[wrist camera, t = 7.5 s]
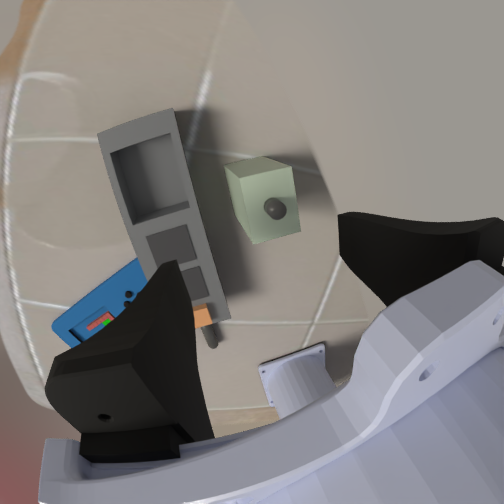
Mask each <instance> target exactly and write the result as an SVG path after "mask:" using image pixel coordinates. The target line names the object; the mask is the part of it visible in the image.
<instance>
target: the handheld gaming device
mask: <svg viewBox="0 0 504 504" xmlns="http://www.w3.org/2000/svg"><path fill="white" fill-rule="evenodd" d="M147 283H148V281H147V279H146V277H145V274H144V272H143V270H142V267H141V265H140V262H139V260H138V258H136V259H134V260H133V261H131V262H130V263H129V264H127V265H126V266H124V267H123V268H122V269H120V270H119V271H118V272H116V273H115V274H114V275H112V276H111V277H110V278H108V279H107V280H106V281H104V282H103V283H102V284H100V285H99V286H98V287H96V288H95V289H94V290H92V291H91V292H90V293H88V294H87V295H86V296H85V297H83V298H82V299H81V300H80V301H78V302H77V303H76V304H74V305H73V306H72V307H71V308H69V309H68V310H67V311H66V312H64V313H63V314H62V315H61V316H60V317H58V318H57V319H56V320H55V321H54V322H53V324H52V330H53V331H54V332H55V333H56V334H57V335H58V336H59V337H60V338H61V339H62V340H63V341H64V342H65V343H66V344H68V345H69V346H70V347H71V348H73V347H75V346H77V345H78V344H80V343H82V342H83V341H85V340H86V339H88V338H90V337H91V336H93V335H94V334H95V333H97V332H98V331H100V330H101V329H102V328H103V327H105V326H106V325H107V324H108V323H110V322H111V321H112V320H113V319H114V318H116V317H117V316H118V315H119V314H120V313H121V312H122V311H123V310H124V309H125V308H126V307H127V306H128V305H129V304H130V303H131V302H132V301H133V300H134V299H135V297H136V296H137V295H138V294H139V292H140V291H141V290H142V289H143V288H144V286H145V285H146V284H147Z"/></svg>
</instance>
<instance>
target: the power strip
mask: <svg viewBox="0 0 504 504" xmlns="http://www.w3.org/2000/svg"><path fill="white" fill-rule="evenodd" d="M97 136H98V140H99V144H100V148H101V152H102V155H103V159H104V162H105V166H106V169H107V173H108V176H109V179H110V182H111V186H112V189H113V192H114V195H115V198H116V201H117V204H118V207H119V210H120V213H121V215H122V218H123V221H124V224H125V227H126V229H127V232H128V235H129V237H130V240H131V242H132V245H133V248H134V250H135V253H136V255H137V258H138V260H139V262H140V265H141V267H142V270H143V272H144V274H145V277H146V279H147V281H149V280H150V279H151V277H152V276H153V275H154V273H155V272H156V270H157V269H158V268H159V267H160V265H161V264H162V263H165V262H169V261H172V260H176V259H177V262H178V265H179V268H180V271H181V274H182V276H183V279H184V282H185V285H186V287H187V290H188V293H189V295H190V298H191V302H192V307H193V313H194V318H195V328H199V327H201V329H202V332H203V334H204V336H205V339H206V341H207V343H208V346H209V347H210V348H212V349H215V348H217V346H218V341H217V338H216V336H215V333H214V331H213V328H212V326H211V324H213V323H217V322H220V321H224V320H227V319H230V318H231V315H230V312H229V308H228V305H227V302H226V298H225V295H224V292H223V288H222V285H221V282H220V279H219V275H218V272H217V269H216V265H215V262H214V259H213V255H212V252H211V249H210V245H209V242H208V238H207V235H206V231H205V228H204V224H203V221H202V217H201V214H200V210H199V206H198V203H197V199H196V195H195V192H194V188H193V184H192V180H191V177H190V173H189V169H188V165H187V161H186V157H185V153H184V149H183V145H182V141H181V137H180V133H179V129H178V125H177V121H176V116H175V112H174V109H173V108H170V109H167V110H163V111H160V112H157V113H153V114H150V115H147V116H144V117H141V118H138V119H135V120H132V121H129V122H127V123H124V124H121V125H118V126H116V127H113V128H110V129H108V130H105V131H103V132H100V133H98V134H97Z"/></svg>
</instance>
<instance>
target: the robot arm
mask: <svg viewBox="0 0 504 504" xmlns="http://www.w3.org/2000/svg"><path fill="white" fill-rule="evenodd" d="M338 229H339V249H340V256H341V257H342V259H343V260H344V262H345V263H346V264H347V266H348V267H349V268H350V269H351V270H352V272H353V273H354V274H355V275H356V276H357V277H358V278H359V279H360V280H362V281H363V282H364V283H365V284H366V285H367V286H368V287H369V288H370V289H371V290H372V291H373V292H374V293H375V294H376V295H377V296H378V297H379V298H380V299H381V300H382V302H383V303H384V304H385V305H386V306H387V308H385V309H384V310H382V311H381V312H380V313H379V314H378V315H377V316H376V318H375V319H374V320H373V321H372V323H371V324H370V325H369V326H368V327H367V329H366V330H365V331H364V332H363V335H362V337H361V340H360V343H359V345H358V348H357V350H356V353H355V356H354V363H353V371H352V376H351V378H350V379H349V380H348V381H346V382H344V383H343V384H341V385H340V386H338V387H336V386H335V384H334V382H333V381H332V379H331V377H330V376H329V374H328V372H327V371H326V369H325V346H324V344H322V343H321V344H318V345H315V346H313V347H310V348H307V349H305V350H302V351H299V352H297V353H294V354H291V355H288V356H285V357H282V358H279V359H277V360H274V361H271V362H267V363H264V364H261V365H260V366H259V367H258V370H259V373H260V376H261V379H262V383H263V386H264V389H265V392H266V395H267V399H268V402H269V405H270V407H275V408H276V410H277V413H278V416H279V418H280V420H278V421H276V422H274V423H272V424H268V425H265V426H262V427H258V428H254V429H251V430H247V431H243V432H240V433H236V434H232V435H227V436H223V437H219V438H215V437H214V433H213V430H212V426H211V423H210V419H209V415H208V412H207V408H206V404H205V399H204V395H203V391H202V386H201V381H200V377H199V372H198V365H197V353H196V336H195V318H194V313H193V307H192V302H191V298H190V295H189V293H188V290H187V287H186V285H185V282H184V279H183V276H182V274H181V271H180V268H179V265H178V262H177V259H176V260H172V261H169V262H165V263H162V264H161V265H160V267H159V268H158V269H157V270H156V272H155V273H154V275H153V276H152V277H151V279H150V280H149V281H148V283H147V284H146V285H145V286H144V288H143V289H142V290H141V291H140V292H139V294H138V295H137V296H136V297H135V299H134V300H133V301H132V302H131V303H130V304H129V305H128V306H127V307H126V308H125V309H124V310H123V311H122V312H121V313H120V314H119V315H118V316H117V317H116V318H114V319H113V320H112V321H111V322H110V323H108V324H107V325H106V326H105V327H103V328H102V329H101V330H100V331H98V332H97V333H95V334H94V335H93V336H91V337H90V338H88V339H86V340H85V341H83V342H82V343H80V344H78V345H77V346H75V347H73V348H71V349H69V350H67V351H66V352H64V353H62V354H60V355H58V356H56V357H55V358H54V361H53V364H52V367H51V370H50V373H49V376H48V379H47V382H46V385H45V394H46V397H47V399H48V401H49V402H50V404H51V405H52V406H53V408H54V409H55V410H56V411H57V412H58V413H59V414H60V415H61V416H62V417H63V418H64V419H65V420H67V421H68V422H69V423H70V424H71V425H72V426H73V427H74V428H76V429H77V430H78V431H79V432H80V433H81V442H78V441H75V440H73V439H57V438H47V439H46V441H45V446H44V452H43V459H42V466H41V474H40V484H39V496H38V502H39V503H40V504H504V267H503V266H501V265H502V262H503V258H504V221H503V220H501V219H499V218H496V217H493V218H486V219H481V220H474V221H464V222H422V221H412V220H405V219H398V218H391V217H386V216H380V215H374V214H368V213H361V212H347V213H343V214H339V215H338Z"/></svg>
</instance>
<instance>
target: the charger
mask: <svg viewBox="0 0 504 504" xmlns="http://www.w3.org/2000/svg"><path fill="white" fill-rule="evenodd" d="M223 166H224V170H225V174H226V179H227V183H228V188H229V192H230V196H231V201H232V205H233V209H234V214H235V216H236V218H237V219H238V221H239V222H240V224H241V226H242V227H243V229H244V230H245V232H246V234H247V235H248V237H249V238H250V240H251V242H252V243H253V245H254V244H258V243H261V242H265V241H268V240H272V239H275V238H279V237H282V236H286V235H289V234H293V233H296V232H300V231H301V229H300V221H299V213H298V206H297V199H296V192H295V185H294V179H293V172H292V166H289V165H286V164H283V163H280V162H278V161H275V160H272V159H269V158H266V157H263V156H261V157H256V158H252V159H247V160H243V161H239V162H234V163H230V164H226V165H223Z"/></svg>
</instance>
